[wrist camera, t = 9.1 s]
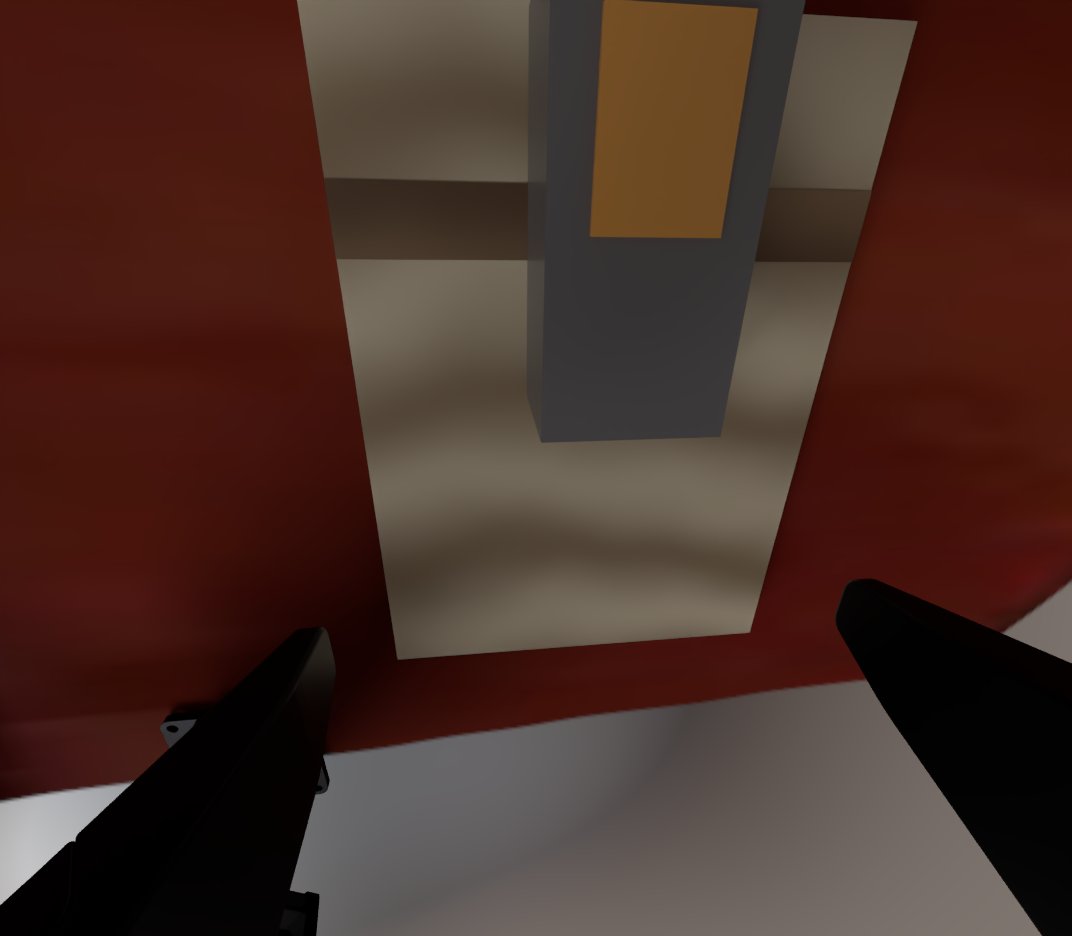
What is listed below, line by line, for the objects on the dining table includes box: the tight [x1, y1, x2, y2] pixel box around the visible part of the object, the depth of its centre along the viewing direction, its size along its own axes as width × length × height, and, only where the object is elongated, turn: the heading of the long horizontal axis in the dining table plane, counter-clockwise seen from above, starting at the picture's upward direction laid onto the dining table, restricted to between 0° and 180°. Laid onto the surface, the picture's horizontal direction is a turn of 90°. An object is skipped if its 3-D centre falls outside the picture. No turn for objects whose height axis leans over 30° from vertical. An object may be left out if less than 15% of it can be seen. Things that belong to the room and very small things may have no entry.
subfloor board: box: [297, 0, 918, 660], centre depth 18 cm, size 22×16×2 cm
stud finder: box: [527, 0, 805, 443], centre depth 13 cm, size 10×5×4 cm, turn 179°
